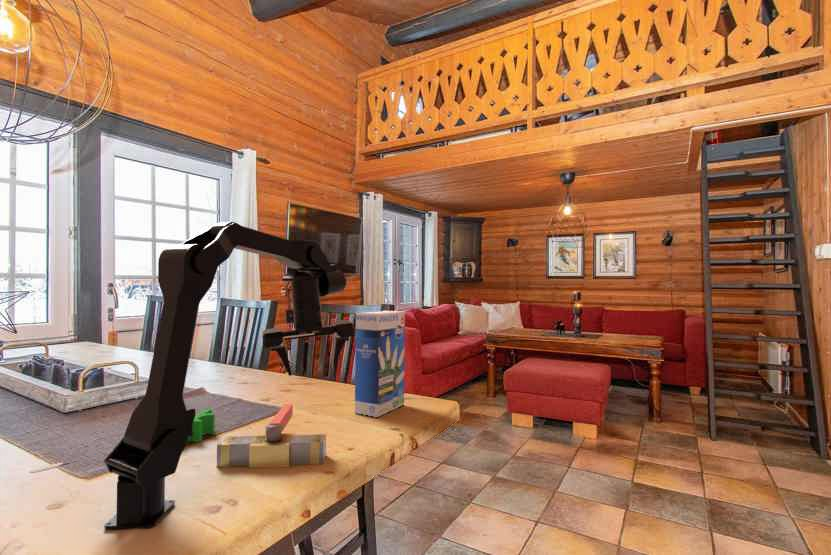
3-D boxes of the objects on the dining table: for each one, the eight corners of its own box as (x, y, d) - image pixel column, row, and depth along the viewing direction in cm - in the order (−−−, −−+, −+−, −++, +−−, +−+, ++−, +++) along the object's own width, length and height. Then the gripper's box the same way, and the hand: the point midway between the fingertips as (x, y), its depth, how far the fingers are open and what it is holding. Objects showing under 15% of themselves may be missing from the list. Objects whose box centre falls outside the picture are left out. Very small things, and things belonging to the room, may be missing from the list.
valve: (322, 466, 78) (322, 444, 78) (214, 469, 76) (214, 446, 76) (326, 453, 84) (326, 432, 84) (226, 455, 82) (226, 434, 82)
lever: (279, 440, 79) (279, 426, 79) (263, 441, 78) (263, 427, 78) (294, 416, 93) (294, 404, 93) (281, 416, 93) (281, 404, 93)
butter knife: (27, 468, 76) (31, 471, 74) (185, 429, 97) (191, 431, 95) (27, 471, 76) (31, 475, 74) (185, 431, 97) (191, 433, 95)
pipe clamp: (190, 449, 86) (191, 426, 86) (173, 448, 86) (173, 425, 86) (222, 429, 97) (222, 409, 97) (207, 428, 97) (207, 408, 97)
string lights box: (377, 418, 105) (378, 313, 105) (352, 413, 109) (353, 312, 109) (405, 405, 116) (406, 310, 116) (382, 401, 120) (383, 309, 120)
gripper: (343, 291, 101) (348, 356, 102) (259, 299, 94) (266, 368, 96) (353, 297, 90) (358, 369, 92) (259, 307, 84) (266, 383, 86)
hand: (312, 372), depth 92 cm, fingers open, 9 cm apart
